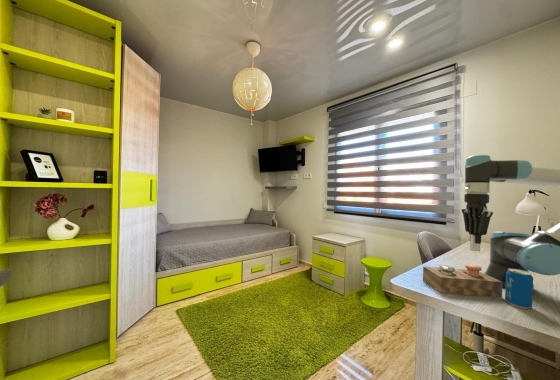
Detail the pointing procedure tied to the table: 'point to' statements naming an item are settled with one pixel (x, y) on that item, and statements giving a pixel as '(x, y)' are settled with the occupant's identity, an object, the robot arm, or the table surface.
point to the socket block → (462, 283)
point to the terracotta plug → (473, 270)
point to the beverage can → (519, 288)
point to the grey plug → (447, 270)
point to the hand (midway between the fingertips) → (475, 250)
